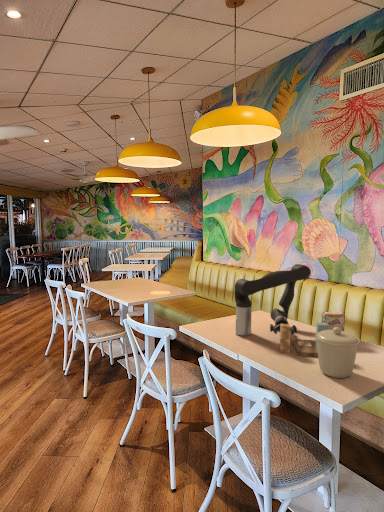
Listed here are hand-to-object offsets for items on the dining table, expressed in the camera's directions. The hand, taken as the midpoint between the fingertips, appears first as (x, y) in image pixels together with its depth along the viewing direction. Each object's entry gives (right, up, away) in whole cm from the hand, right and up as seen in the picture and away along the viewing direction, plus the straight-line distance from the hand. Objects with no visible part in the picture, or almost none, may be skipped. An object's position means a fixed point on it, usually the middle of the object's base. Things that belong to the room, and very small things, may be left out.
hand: (284, 332), depth 177 cm
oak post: (-1, -9, -4) cm, 10 cm away
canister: (+15, -11, -29) cm, 35 cm away
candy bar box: (+30, -7, +9) cm, 32 cm away
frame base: (+13, -8, -3) cm, 16 cm away
